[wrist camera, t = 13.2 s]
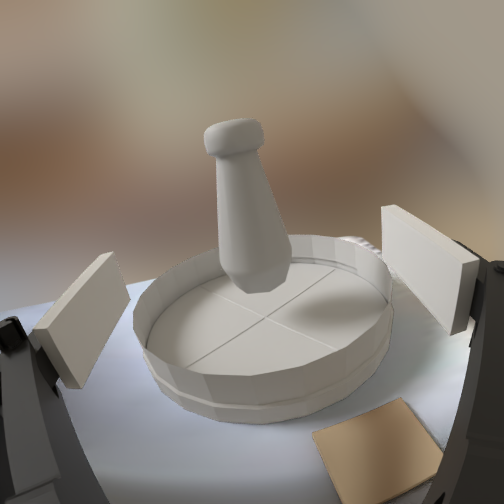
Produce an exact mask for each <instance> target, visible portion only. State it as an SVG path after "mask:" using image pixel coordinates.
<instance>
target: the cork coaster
mask: <svg viewBox="0 0 504 504" xmlns="http://www.w3.org/2000/svg"><path fill="white" fill-rule="evenodd" d="M312 437H313V440H314V442H315V444H316V446H317V449H318V451H319V453H320V455H321V458H322V460H323V462H324V464H325V467H326V469H327V471H328V473H329V476H330V478H331V480H332V482H333V485H334V487H335V489H336V491H337V493H338V496H339V498H340V500H341V502H342V504H382V503H384V502H386V501H388V500H391V499H393V498H395V497H397V496H399V495H401V494H403V493H404V492H406V491H408V490H410V489H412V488H414V487H416V486H418V485H419V484H421V483H423V482H425V481H426V480H428V479H430V478H431V477H433V476H435V475H436V473H437V470H438V467H439V465H440V462H441V460H442V457H443V453H442V451H441V450H440V449H439V447H438V446H437V445H436V443H435V442H434V441H433V439H432V438H431V437H430V435H429V434H428V433H427V431H426V430H425V429H424V427H423V426H422V425H421V423H420V422H419V421H418V419H417V418H416V417H415V415H414V414H413V413H412V411H411V410H410V409H409V408H408V406H407V405H406V404H405V402H404V401H403V400H402V398H401V397H400V398H398V399H396V400H394V401H392V402H390V403H387V404H385V405H383V406H381V407H378V408H376V409H374V410H371V411H369V412H367V413H364V414H362V415H359V416H357V417H354V418H352V419H349V420H346V421H344V422H341V423H338V424H336V425H333V426H330V427H327V428H324V429H321V430H318V431H315V432H312Z"/></svg>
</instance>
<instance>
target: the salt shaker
mask: <svg viewBox="0 0 504 504" xmlns="http://www.w3.org/2000/svg"><path fill="white" fill-rule="evenodd" d="M204 143H205V147H206V151H207V153H208V154H209V155H211V156H214V157H216V169H217V171H216V172H217V206H218V232H219V233H218V234H219V257H220V263H221V266H222V268H223V269H224V271H225V272H226V274H227V275H228V276H229V277H230V278H231V280H232V281H233V282H234V284H235V285H236V286H237V287H238V288H239V289H241V290H242V291H244V292H245V293H246V294H253V293H264V292H271V291H272V290H274V289H275V288H277V287H278V286H280V285H281V284H283V283H284V282H285V281H286V278H287V274H288V271H289V267H290V263H291V259H292V246H291V243H290V241H289V238H288V235H287V232H286V229H285V227H284V224H283V221H282V218H281V216H280V213H279V210H278V207H277V205H276V202H275V199H274V196H273V194H272V191H271V189H270V186H269V183H268V181H267V178H266V175H265V172H264V169H263V167H262V164H261V161H260V158H259V155H258V152H257V149H259V148H260V147H261V146H262V145H264V133H263V129H262V127H261V124H260V123H259V122H258V121H257V120H255V119H250V118H243V119H235V120H229V121H225V122H220V123H218V124H215V125H212V126H211V127H209V128H208V129H207V130H206V132H205V133H204Z"/></svg>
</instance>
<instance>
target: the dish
mask: <svg viewBox="0 0 504 504" xmlns="http://www.w3.org/2000/svg"><path fill="white" fill-rule="evenodd" d="M288 238H289V241H290V243H291V246H292V259H291V263H290V267H289V271H288V274H287V278H286V281H285V282H284V283H283V284H281V285H280V286H278V287H277V288H275V289H274V290H272V291H271V292H264V293H253V294H246V293H245V292H244V291H242V290H241V289H239V288H238V287H237V286H236V285H235V284H234V282H233V281H232V280H231V278H230V277H229V276H228V275H227V274H226V272H225V271H224V269H223V268H222V266H221V263H220V257H219V247H217V248H214V249H212V250H209V251H206V252H204V253H201V254H199V255H196V256H193V257H191V258H189V259H187V260H186V261H184V262H182V263H180V264H178V265H177V266H174V267H172V268H171V269H169V270H168V271H167V272H165V273H164V274H163V275H161V276H160V277H158V278H157V279H156V280H154V281H153V283H152V284H151V285H150V286H149V287H148V288H147V289H146V290H145V291H144V292H143V293H142V295H141V296H140V298H139V300H138V302H137V305H136V307H135V309H134V311H133V330H134V332H135V334H136V336H137V338H138V340H139V343H140V345H141V347H142V349H143V358H144V360H145V362H146V364H147V366H148V368H149V370H150V372H151V374H152V376H153V378H154V379H155V381H156V383H157V385H158V386H159V388H160V390H161V391H162V392H163V393H164V394H165V395H166V396H168V397H169V398H170V399H172V400H173V401H174V402H175V403H177V404H178V405H179V406H181V407H182V408H183V409H185V410H188V411H190V412H193V413H196V414H199V415H201V416H204V417H207V418H210V419H213V420H216V421H219V422H230V423H244V424H268V423H274V422H279V421H285V420H290V419H295V418H300V417H304V416H308V415H310V414H313V413H315V412H317V411H319V410H321V409H324V408H326V407H328V406H330V405H332V404H334V403H336V402H338V401H340V400H342V399H344V398H346V397H348V396H349V395H350V394H351V393H352V392H354V391H355V390H356V389H357V388H358V387H360V386H361V385H362V384H363V383H364V382H365V381H366V380H368V379H369V378H370V377H371V376H372V375H373V374H374V373H375V371H376V370H377V368H378V366H379V365H380V363H381V361H382V360H383V358H384V356H385V354H386V353H387V351H388V349H389V343H390V336H391V329H392V321H393V313H394V310H393V307H392V304H391V298H392V285H393V280H392V277H391V275H390V272H389V270H388V268H387V265H386V264H385V263H384V262H383V261H382V260H381V259H380V258H379V257H378V256H377V255H376V254H374V253H373V252H372V251H370V250H368V249H366V248H364V247H362V246H360V245H358V244H356V243H352V242H349V241H345V240H341V239H338V238H334V237H324V236H316V235H288ZM221 269H222V270H221Z"/></svg>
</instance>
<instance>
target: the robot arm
mask: <svg viewBox="0 0 504 504" xmlns="http://www.w3.org/2000/svg"><path fill="white" fill-rule="evenodd" d="M381 213H382V260H383V261H384V262H385V263H386V264H387V265H388V266H389V267H390V268H391V269H392V270H393V271H394V272H395V273H396V274H397V276H398V277H399V278H400V279H401V280H402V281H403V282H404V283H405V284H406V285H407V287H408V288H409V289H410V290H411V291H412V292H413V293H414V294H415V295H416V297H417V298H418V299H419V300H420V301H421V302H422V303H423V305H424V306H425V307H426V308H427V309H428V310H429V312H430V313H431V314H432V315H433V316H434V317H435V319H436V320H437V321H438V322H439V323H440V325H441V326H442V327H443V328H444V329H445V331H446V332H447V333H448V334H449V335H450V336H451V335H454V334H457V333H460V332H462V331H465V330H466V329H467V325H468V321H469V317H470V316H471V317H472V318H473V319H474V320H475V321H476V322H475V326H474V330H473V333H472V337H471V341H470V344H469V347H471V349H470V355H469V361H468V366H467V371H466V376H465V381H464V385H463V389H462V394H461V398H460V402H459V406H458V409H457V413H456V417H455V420H454V423H453V427H452V430H451V433H450V436H449V439H448V442H447V445H446V448H445V451H444V454H443V457H442V460H441V462H440V465H439V467H438V470H437V473H436V475H435V478H434V480H433V482H432V485H431V487H430V489H429V491H428V494H427V496H426V497H425V499H424V501H423V503H422V504H504V261H492V262H490V263H489V262H488V261H487V260H485V259H484V258H482V257H481V256H479V255H478V254H476V253H475V252H473V251H472V250H471V249H469V248H467V247H466V246H465V245H463V244H462V243H460V242H458V241H455V240H452V239H450V238H448V237H447V236H445V235H443V234H442V233H440V232H439V231H437V230H436V229H434V228H432V227H431V226H429V225H428V224H426V223H424V222H423V221H421V220H420V219H418V218H416V217H415V216H413V215H411V214H410V213H408V212H407V211H405V210H403V209H401V208H400V207H398V206H396V205H390V206H383V207H381ZM130 300H131V299H130V297H129V294H128V291H127V289H126V286H125V283H124V280H123V277H122V275H121V272H120V269H119V266H118V263H117V260H116V257H115V254H114V252H110V253H105V254H101V255H100V256H99V257H98V258H97V259H96V260H95V261H94V262H93V263H92V264H91V265H90V266H89V267H88V268H87V269H86V270H85V271H84V272H83V273H82V274H81V275H80V276H79V277H78V278H77V280H76V281H75V282H74V283H73V284H72V285H71V286H70V287H69V288H68V289H67V290H66V291H65V292H64V294H63V295H62V296H61V297H60V298H59V299H58V300H57V301H56V302H55V303H54V305H53V306H52V307H51V308H50V309H49V310H48V311H47V313H46V314H45V315H44V316H43V317H42V318H41V319H40V321H39V322H38V323H37V324H36V325H35V326H34V328H33V329H32V330H33V331H32V332H31V333H30V334H29V336H27V335H26V333H25V331H24V329H23V327H22V325H21V323H20V321H19V319H18V317H16V316H12V317H8V318H6V319H4V320H2V321H1V322H0V350H1V354H0V504H110V503H109V501H108V499H107V498H106V496H105V494H104V492H103V490H102V488H101V487H100V485H99V483H98V481H97V479H96V477H95V475H94V473H93V471H92V469H91V467H90V465H89V462H88V460H87V458H86V456H85V454H84V451H83V449H82V447H81V445H80V442H79V440H78V437H77V435H76V433H75V430H74V427H73V425H72V422H71V420H70V417H69V414H68V412H67V409H66V406H65V403H64V400H63V397H62V394H61V391H60V389H59V388H58V386H57V385H56V382H57V380H58V378H59V377H60V379H61V380H62V382H63V383H64V385H65V386H66V388H69V389H82V388H83V386H84V384H85V382H86V380H87V378H88V376H89V374H90V372H91V370H92V369H93V367H94V365H95V363H96V361H97V359H98V357H99V355H100V353H101V352H102V350H103V348H104V346H105V344H106V342H107V340H108V339H109V337H110V335H111V333H112V331H113V330H114V328H115V326H116V324H117V323H118V321H119V319H120V317H121V315H122V314H123V312H124V310H125V309H126V307H127V305H128V303H129V302H130Z"/></svg>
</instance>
